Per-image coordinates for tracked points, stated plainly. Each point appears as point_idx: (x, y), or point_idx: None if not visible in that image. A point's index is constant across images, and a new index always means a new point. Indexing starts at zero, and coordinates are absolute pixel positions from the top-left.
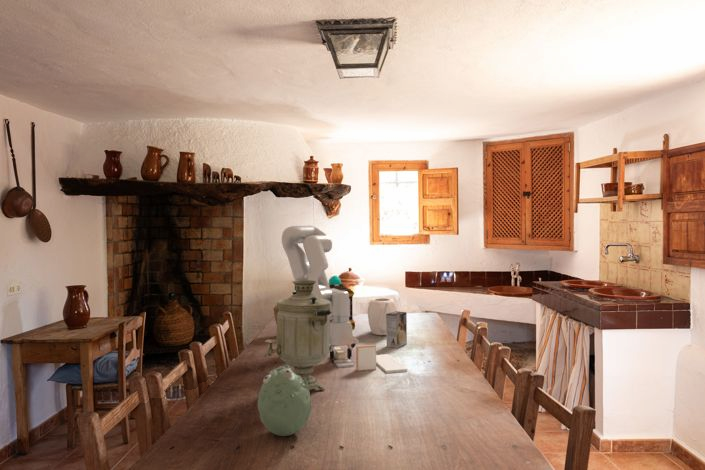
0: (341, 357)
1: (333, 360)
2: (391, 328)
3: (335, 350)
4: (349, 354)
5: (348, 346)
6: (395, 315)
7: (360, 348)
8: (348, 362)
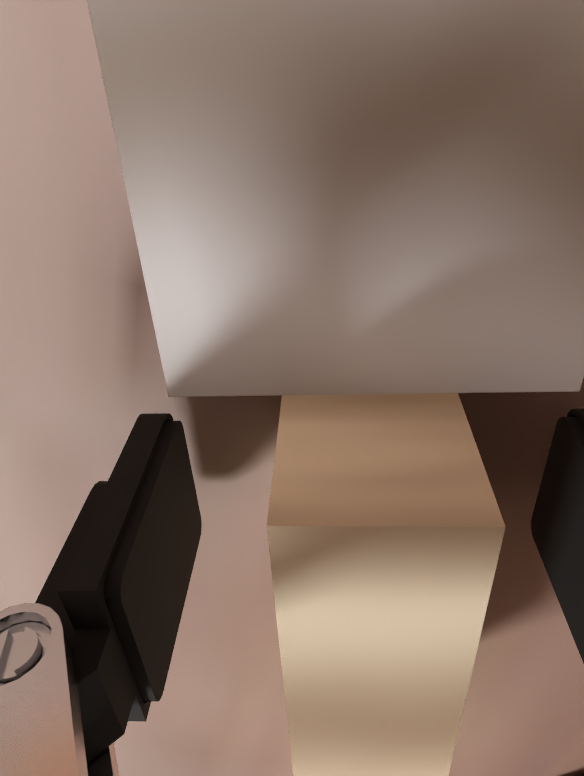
0: (381, 428)
1: (573, 409)
2: None
3: (453, 731)
4: (135, 489)
5: (77, 756)
6: None
7: None
8: (237, 69)
